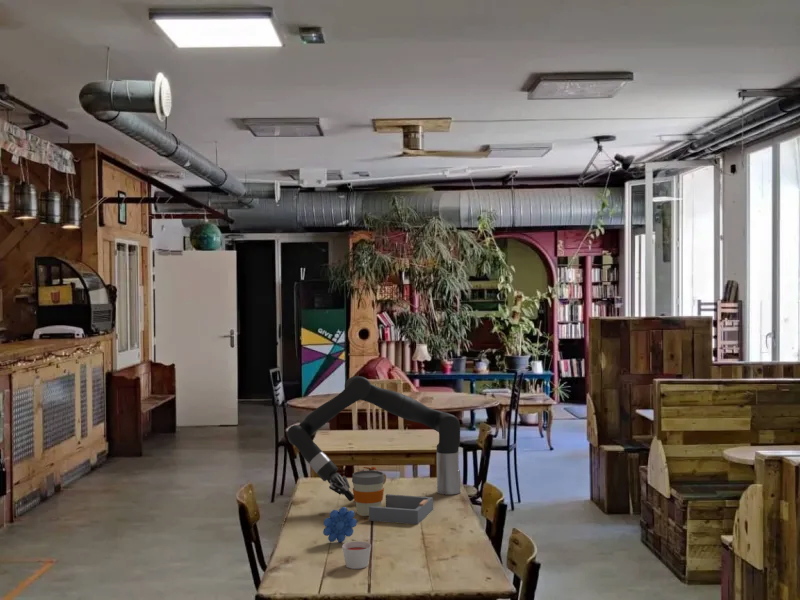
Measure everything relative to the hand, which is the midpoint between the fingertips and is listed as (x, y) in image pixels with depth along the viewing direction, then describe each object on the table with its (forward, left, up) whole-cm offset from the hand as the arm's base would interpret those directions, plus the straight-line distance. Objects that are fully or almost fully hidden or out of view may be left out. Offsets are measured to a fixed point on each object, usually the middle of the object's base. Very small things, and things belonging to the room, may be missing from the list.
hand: (352, 499), depth 320 cm
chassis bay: (-17, +10, -5) cm, 21 cm away
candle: (+8, +63, -5) cm, 63 cm away
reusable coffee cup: (-6, +3, -5) cm, 8 cm away
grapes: (+10, +37, -5) cm, 38 cm away
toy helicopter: (-11, -19, -5) cm, 23 cm away
